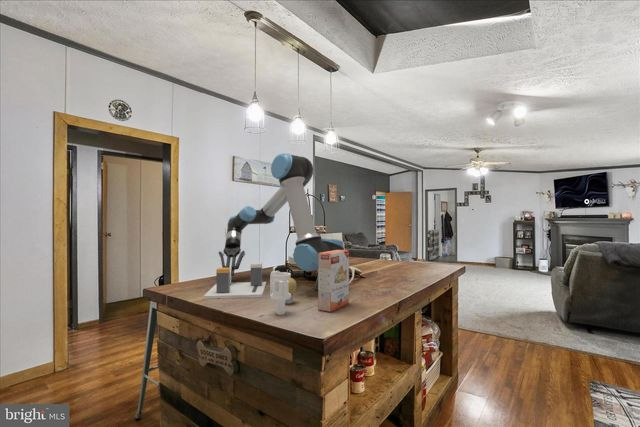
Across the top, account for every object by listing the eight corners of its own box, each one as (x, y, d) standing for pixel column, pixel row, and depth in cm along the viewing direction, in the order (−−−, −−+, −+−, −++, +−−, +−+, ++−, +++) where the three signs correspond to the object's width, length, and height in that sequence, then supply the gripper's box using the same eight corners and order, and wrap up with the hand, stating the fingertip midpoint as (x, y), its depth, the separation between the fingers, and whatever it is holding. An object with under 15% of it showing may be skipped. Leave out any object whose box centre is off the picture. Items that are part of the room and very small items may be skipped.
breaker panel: (262, 297, 139) (262, 294, 139) (203, 299, 137) (203, 295, 137) (266, 284, 165) (266, 281, 165) (216, 285, 163) (216, 282, 163)
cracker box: (331, 313, 117) (331, 253, 117) (317, 310, 120) (317, 252, 120) (350, 303, 128) (349, 249, 128) (336, 301, 132) (336, 249, 132)
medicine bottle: (289, 291, 149) (289, 265, 149) (286, 295, 142) (286, 267, 142) (273, 291, 150) (273, 265, 150) (269, 295, 143) (269, 267, 143)
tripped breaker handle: (228, 292, 142) (228, 269, 142) (216, 292, 141) (216, 269, 141) (230, 290, 146) (230, 267, 146) (218, 290, 145) (218, 267, 145)
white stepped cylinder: (266, 312, 117) (266, 270, 117) (284, 309, 121) (283, 268, 121) (277, 317, 112) (276, 273, 112) (294, 313, 116) (294, 270, 116)
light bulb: (278, 305, 127) (278, 279, 127) (282, 300, 133) (282, 275, 133) (294, 305, 126) (294, 279, 126) (298, 301, 133) (298, 276, 133)
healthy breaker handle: (261, 285, 156) (261, 264, 156) (250, 285, 155) (250, 264, 155) (262, 283, 160) (262, 262, 160) (251, 283, 159) (251, 263, 159)
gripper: (246, 245, 174) (243, 284, 158) (221, 246, 173) (215, 286, 157) (245, 236, 169) (242, 276, 153) (219, 237, 168) (213, 277, 152)
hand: (228, 281), depth 155 cm, fingers closed
